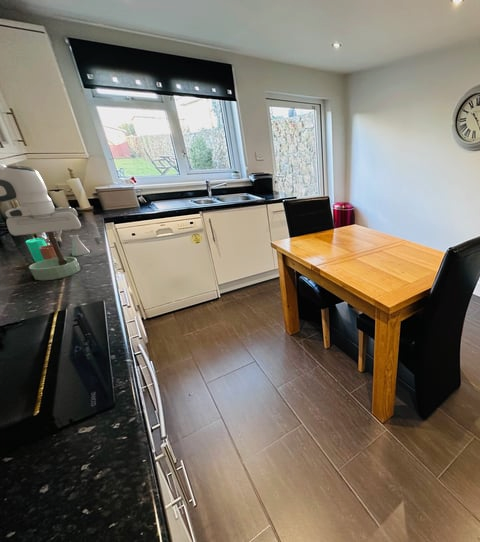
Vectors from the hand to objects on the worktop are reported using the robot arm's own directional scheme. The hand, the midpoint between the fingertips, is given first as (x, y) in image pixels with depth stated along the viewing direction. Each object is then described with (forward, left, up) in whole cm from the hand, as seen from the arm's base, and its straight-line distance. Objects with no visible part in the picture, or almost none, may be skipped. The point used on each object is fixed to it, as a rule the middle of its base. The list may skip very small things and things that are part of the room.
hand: (53, 241), depth 118 cm
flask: (+3, +27, -14) cm, 31 cm away
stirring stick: (0, 0, -12) cm, 12 cm away
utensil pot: (-5, +15, -14) cm, 21 cm away
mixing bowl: (-3, 0, -14) cm, 14 cm away
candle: (-10, +25, -14) cm, 30 cm away
